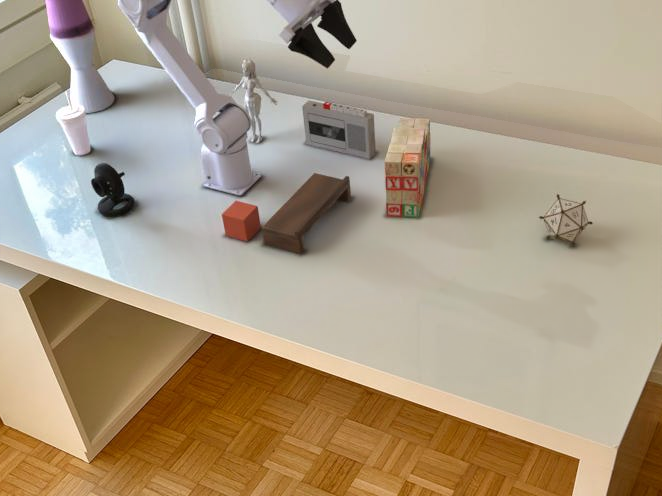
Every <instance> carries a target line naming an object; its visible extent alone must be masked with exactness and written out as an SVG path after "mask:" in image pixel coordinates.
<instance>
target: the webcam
mask: <svg viewBox="0 0 662 496" xmlns="http://www.w3.org/2000/svg"><path fill="white" fill-rule="evenodd" d="M93 175H94V177H93V178H92V179H91V181H90V184H91V187H92V190H93V191H94V192H95V194H96V195H98V196H99V197H100V198H101V199H100V200H99V202H98V203H97V211H98V213H99V214H100V215H102V216H104V217H107V218H116V217H120V216H124V215H126V214H129V212H131V211H132V210H133V209H134V207H135V199H134V197H133V196H132V195H131V194H128V193H126V192H125V191H126V190H125V185H124V181H123V180H122V177H124V176H125V172H124V171H122V172H120V173H119V172H118V171H117V170H116V169H115V168H114V167H113V166H112V165H111V164H109V163H107V162H100V163H98V164H97V165H95V167H94V170H93ZM123 202H126V204H125V205H124V206H122V207H120V208H116V209H114V208H115V207H116V206H118V205H119V204H121V203H123Z"/></svg>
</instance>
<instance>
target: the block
mask: <svg viewBox="0 0 662 496" xmlns="http://www.w3.org/2000/svg"><path fill="white" fill-rule="evenodd" d="M221 218H222V223H223V229H224V234H225V236H226V237H229V238H233V239H237V240H239V241H244V242H249V241H250V240H251V238H253V236H255V234H256V233H257V232H258V231H259V230H260V229H262V225H261V218H260V213H259V206H258V205H255V204H251V203H248V202H244V201H241V200H240V201H239V200H234V202H233V203H231V204H230V205H229V206H228V207H227V208H226V209H225V210H224V211H223V212H222V213H221Z"/></svg>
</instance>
